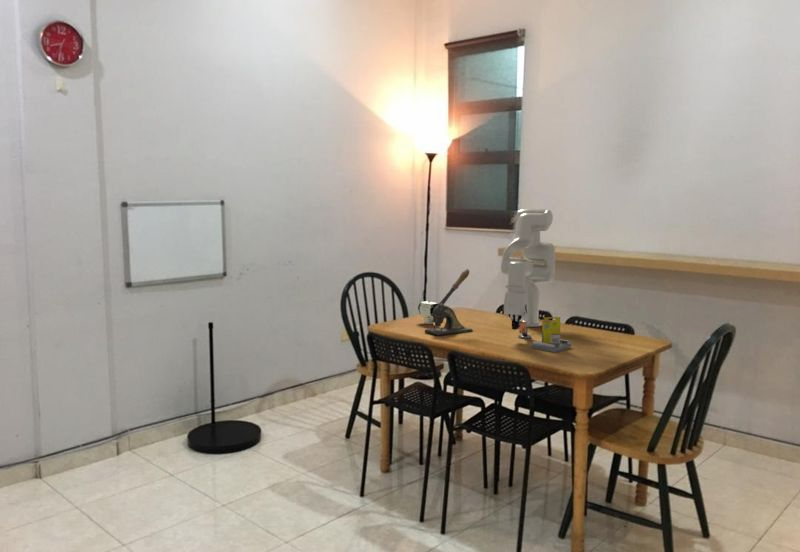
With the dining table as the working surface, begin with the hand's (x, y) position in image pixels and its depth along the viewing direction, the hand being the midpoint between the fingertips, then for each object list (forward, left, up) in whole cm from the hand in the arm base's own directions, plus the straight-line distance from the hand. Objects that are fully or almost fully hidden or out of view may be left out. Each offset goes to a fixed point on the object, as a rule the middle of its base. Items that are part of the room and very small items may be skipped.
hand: (515, 328), depth 297 cm
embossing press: (-33, -6, -6) cm, 34 cm away
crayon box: (+19, 0, -4) cm, 19 cm away
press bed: (+19, 0, -6) cm, 20 cm away
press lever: (+1, +5, -1) cm, 5 cm away
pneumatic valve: (-54, +2, -6) cm, 54 cm away
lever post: (-1, +10, -6) cm, 11 cm away
